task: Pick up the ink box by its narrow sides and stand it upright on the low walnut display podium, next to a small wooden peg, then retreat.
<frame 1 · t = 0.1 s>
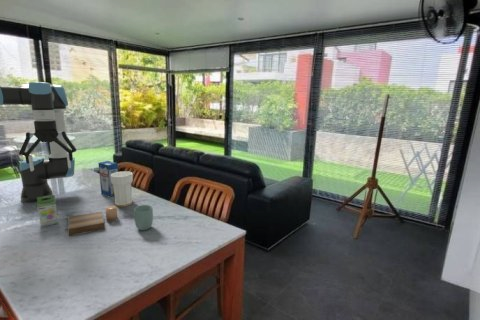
hand: (51, 169, 118), 28 cm above the table, fingers open, 13 cm apart
cup: (144, 228, 125), on the table
wooden peg: (112, 219, 133), on the table
cup 2: (123, 203, 153), on the table
podium: (86, 225, 126), on the table
ink box: (49, 224, 127), on the table
milk carton: (110, 194, 167), on the table
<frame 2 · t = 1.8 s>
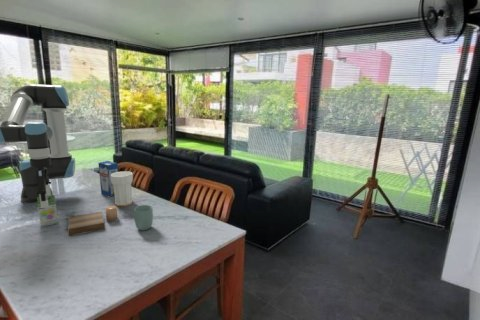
hand: (46, 202, 124), 11 cm above the table, fingers open, 13 cm apart
nothing on the table moved.
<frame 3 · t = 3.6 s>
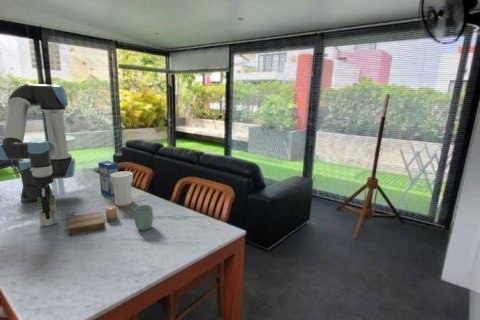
hand: (49, 222, 127), 1 cm above the table, fingers closed on ink box, 4 cm apart
ink box: (49, 224, 127), on the table, touching gripper
everything else where it was.
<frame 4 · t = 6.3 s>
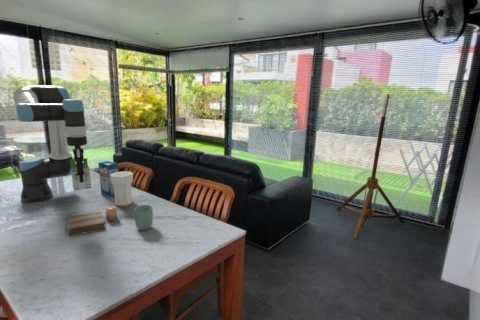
hand: (82, 187, 122), 19 cm above the table, fingers closed on ink box, 4 cm apart
ink box: (82, 189, 122), point 18 cm above the table, touching gripper
everything else where it was.
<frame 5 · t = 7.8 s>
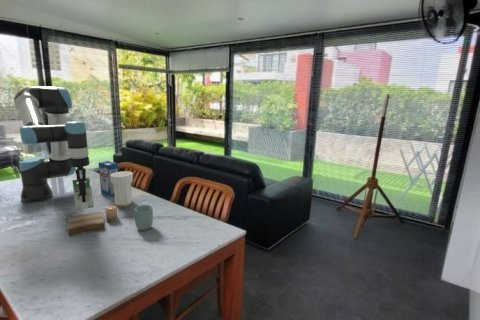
hand: (84, 206, 124), 10 cm above the table, fingers closed on ink box, 4 cm apart
ink box: (84, 208, 124), point 9 cm above the table, touching gripper
everything else where it was.
when the fingers open (4 cm above the table, at t = 9.1 s): ink box stays where it is, resting on podium.
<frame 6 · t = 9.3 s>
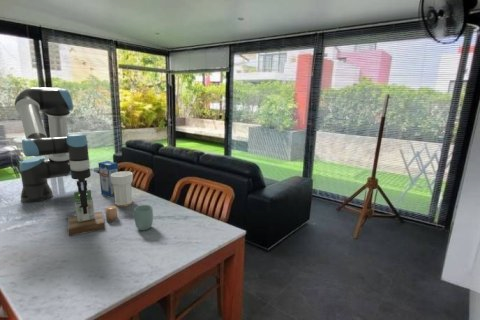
hand: (85, 216, 125), 4 cm above the table, fingers open, 6 cm apart
ink box: (86, 220, 126), point 3 cm above the table, touching podium
everything else where it was.
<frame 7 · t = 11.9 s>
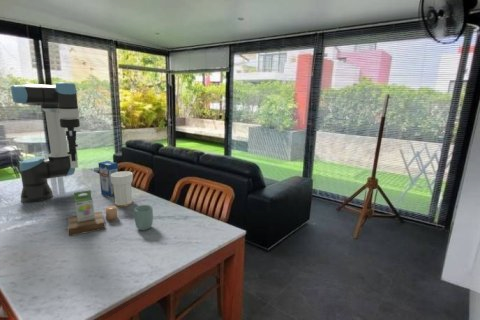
hand: (74, 163, 126), 28 cm above the table, fingers open, 13 cm apart
nothing on the table moved.
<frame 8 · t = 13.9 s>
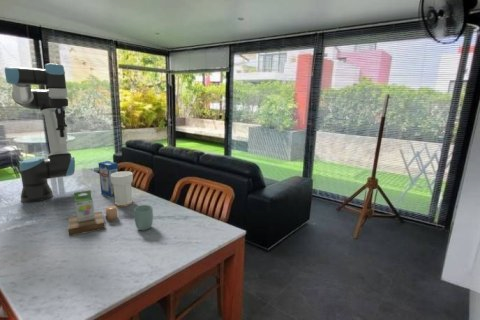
hand: (63, 141, 134), 37 cm above the table, fingers open, 13 cm apart
nothing on the table moved.
at the end: ink box inside the target area on the podium (0.1 cm from its centre), point 2.8 cm above the podium's base; ink box tilted 0°; the gripper is holding nothing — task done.
